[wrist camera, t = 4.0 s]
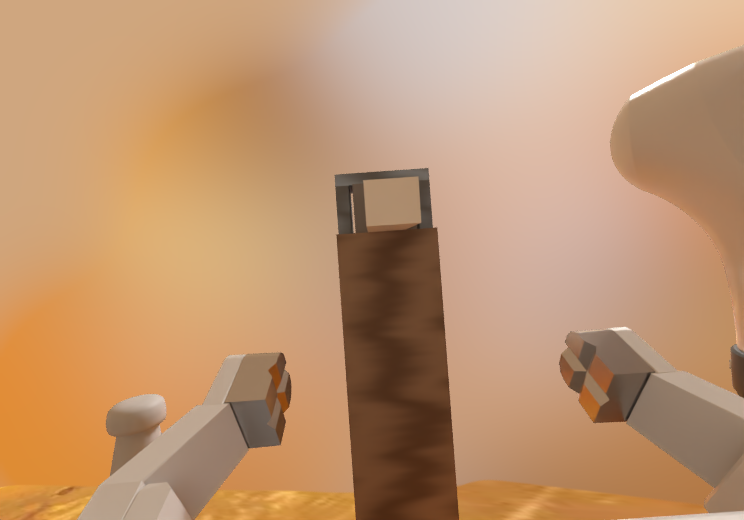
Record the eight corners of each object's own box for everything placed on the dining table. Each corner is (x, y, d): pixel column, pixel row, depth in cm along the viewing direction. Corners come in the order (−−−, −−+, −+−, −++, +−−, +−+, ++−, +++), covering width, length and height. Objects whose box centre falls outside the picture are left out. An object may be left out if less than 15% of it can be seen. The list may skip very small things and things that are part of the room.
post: (447, 513, 30) (422, 177, 30) (462, 560, 25) (432, 161, 26) (361, 519, 30) (338, 183, 30) (359, 567, 25) (332, 168, 26)
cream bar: (410, 231, 30) (408, 188, 30) (439, 221, 18) (435, 147, 17) (357, 235, 30) (354, 192, 30) (348, 227, 18) (342, 153, 17)
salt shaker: (87, 593, 25) (78, 421, 25) (116, 536, 30) (108, 395, 30) (176, 562, 27) (167, 404, 27) (188, 514, 32) (180, 383, 32)
